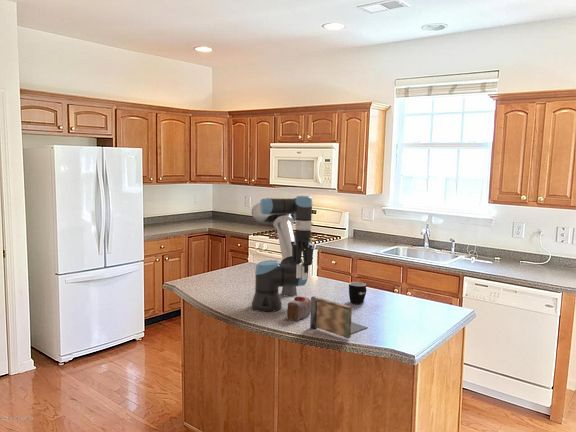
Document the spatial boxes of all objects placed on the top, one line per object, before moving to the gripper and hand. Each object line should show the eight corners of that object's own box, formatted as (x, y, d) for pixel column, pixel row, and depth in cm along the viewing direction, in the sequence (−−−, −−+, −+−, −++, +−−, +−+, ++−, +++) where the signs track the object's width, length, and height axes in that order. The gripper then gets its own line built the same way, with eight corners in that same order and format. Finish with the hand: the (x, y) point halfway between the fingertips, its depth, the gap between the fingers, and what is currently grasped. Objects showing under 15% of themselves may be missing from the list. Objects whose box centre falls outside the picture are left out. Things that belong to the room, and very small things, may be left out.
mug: (358, 306, 240) (359, 287, 239) (344, 302, 246) (345, 283, 245) (372, 302, 248) (373, 283, 247) (358, 298, 255) (359, 280, 254)
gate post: (308, 328, 206) (309, 297, 204) (313, 326, 208) (314, 296, 206) (313, 329, 203) (314, 298, 202) (318, 328, 206) (319, 297, 204)
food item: (298, 311, 229) (299, 292, 228) (313, 314, 225) (314, 294, 224) (285, 319, 217) (285, 298, 216) (300, 322, 213) (300, 301, 212)
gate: (315, 327, 203) (316, 298, 202) (319, 326, 205) (320, 297, 203) (347, 338, 192) (348, 307, 190) (350, 337, 193) (351, 306, 192)
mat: (326, 329, 205) (326, 328, 205) (348, 321, 215) (348, 320, 215) (345, 336, 197) (345, 335, 197) (367, 328, 208) (367, 327, 207)
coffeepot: (281, 297, 253) (282, 264, 251) (275, 292, 261) (275, 261, 259) (307, 295, 259) (308, 263, 257) (300, 290, 267) (300, 259, 265)
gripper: (285, 227, 220) (284, 276, 222) (310, 231, 208) (308, 283, 211) (296, 226, 225) (295, 274, 228) (321, 230, 213) (319, 280, 216)
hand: (301, 278), depth 219 cm, fingers open, 3 cm apart
